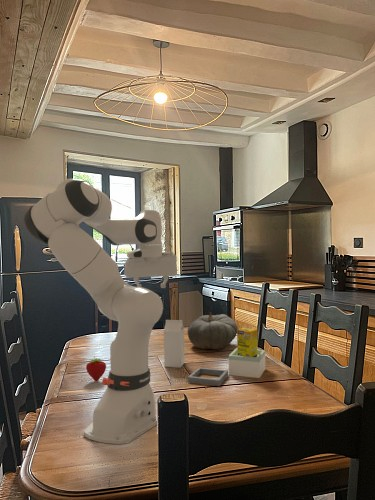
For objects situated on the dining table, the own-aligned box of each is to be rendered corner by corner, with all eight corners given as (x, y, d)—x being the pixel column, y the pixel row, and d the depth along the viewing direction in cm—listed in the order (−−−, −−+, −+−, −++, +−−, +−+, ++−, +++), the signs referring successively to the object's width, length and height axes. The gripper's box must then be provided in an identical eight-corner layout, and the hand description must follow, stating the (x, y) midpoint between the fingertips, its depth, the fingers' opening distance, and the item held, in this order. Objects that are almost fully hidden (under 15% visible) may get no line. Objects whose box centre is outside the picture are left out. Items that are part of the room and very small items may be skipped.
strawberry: (104, 384, 147) (103, 356, 147) (84, 384, 147) (83, 357, 147) (108, 378, 153) (107, 352, 153) (88, 378, 153) (88, 352, 153)
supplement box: (237, 357, 158) (236, 329, 158) (244, 353, 163) (244, 327, 162) (250, 359, 154) (249, 331, 154) (257, 356, 159) (257, 328, 159)
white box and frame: (252, 390, 139) (252, 368, 139) (188, 382, 148) (187, 362, 147) (265, 368, 162) (265, 350, 162) (209, 363, 171) (208, 345, 171)
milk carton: (181, 368, 165) (180, 322, 165) (164, 367, 166) (163, 321, 166) (184, 362, 172) (184, 318, 172) (168, 362, 173) (167, 318, 173)
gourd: (239, 335, 211) (235, 303, 208) (240, 356, 186) (235, 320, 183) (192, 339, 214) (187, 308, 211) (187, 360, 189) (182, 326, 186)
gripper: (173, 251, 160) (174, 286, 160) (123, 253, 153) (123, 289, 153) (179, 252, 154) (179, 288, 154) (126, 253, 147) (127, 291, 147)
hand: (151, 288), depth 153 cm, fingers open, 8 cm apart
